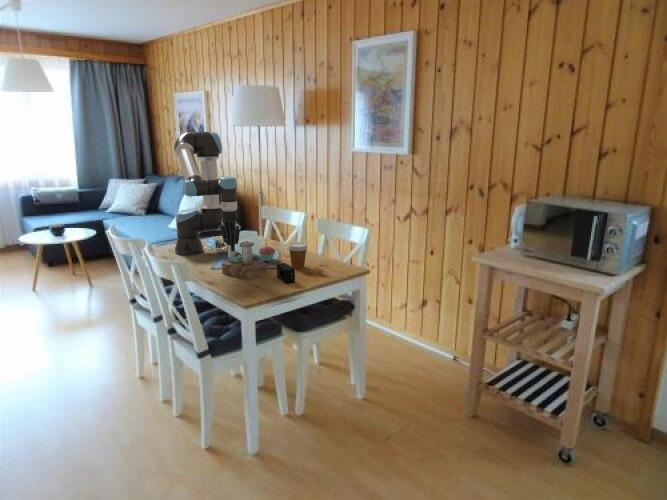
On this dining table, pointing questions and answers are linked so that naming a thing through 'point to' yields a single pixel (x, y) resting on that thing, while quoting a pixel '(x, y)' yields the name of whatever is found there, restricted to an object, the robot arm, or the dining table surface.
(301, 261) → the disposable coffee cup
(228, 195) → the robot arm
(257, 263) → the hitch block
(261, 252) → the cupcake
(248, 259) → the grey stone pillar
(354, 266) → the dining table surface
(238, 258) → the keeper
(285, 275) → the digital camera
